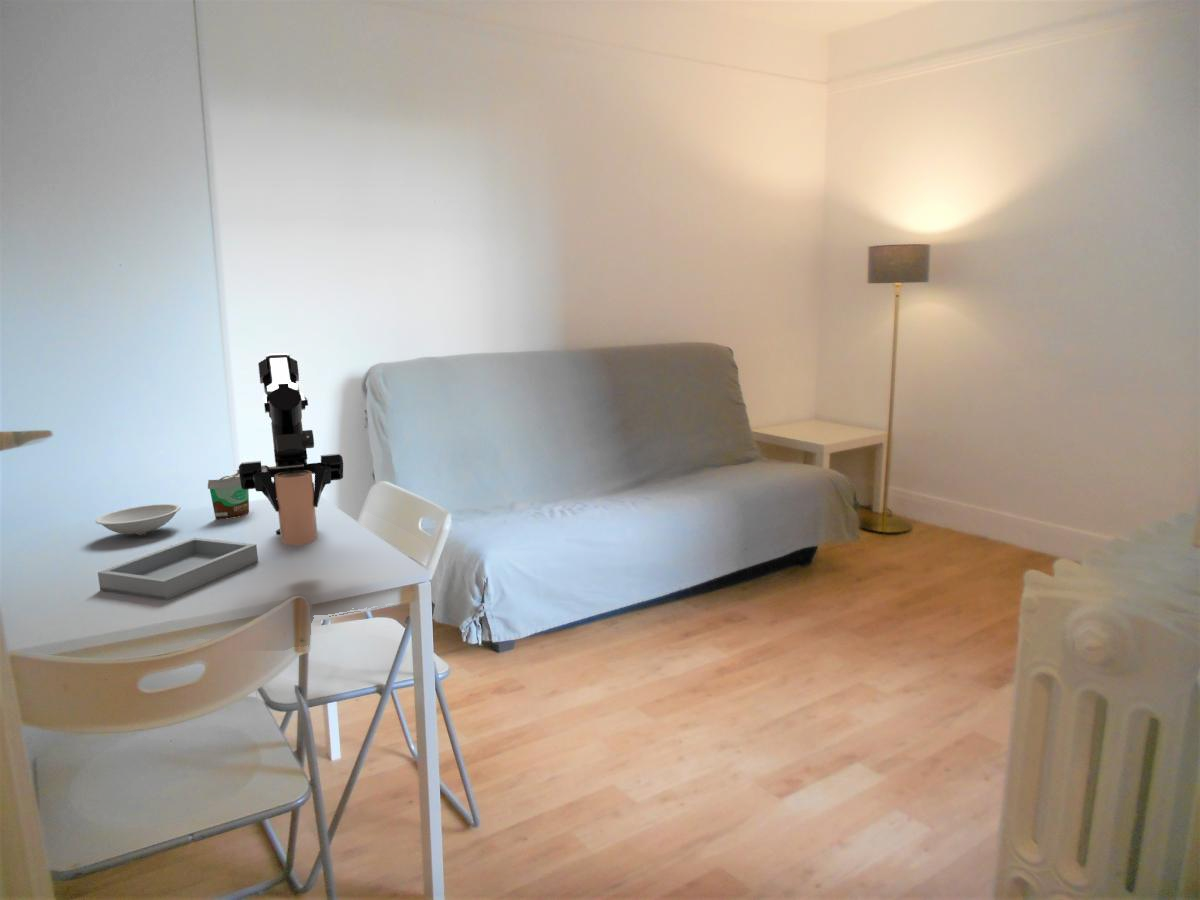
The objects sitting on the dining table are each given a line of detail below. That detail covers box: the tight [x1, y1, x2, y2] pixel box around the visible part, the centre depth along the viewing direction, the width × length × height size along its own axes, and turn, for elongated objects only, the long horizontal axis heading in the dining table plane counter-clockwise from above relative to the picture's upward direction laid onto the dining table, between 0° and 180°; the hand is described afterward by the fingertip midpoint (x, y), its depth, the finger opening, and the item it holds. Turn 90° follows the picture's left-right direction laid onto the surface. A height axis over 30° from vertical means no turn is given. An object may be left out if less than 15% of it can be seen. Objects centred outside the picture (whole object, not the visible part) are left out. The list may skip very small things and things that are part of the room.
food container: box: [207, 469, 250, 520], centre depth 205 cm, size 12×6×10 cm, turn 168°
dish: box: [95, 503, 182, 536], centre depth 191 cm, size 18×14×5 cm
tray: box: [97, 537, 259, 601], centre depth 162 cm, size 22×16×4 cm
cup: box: [275, 470, 319, 546], centre depth 159 cm, size 7×7×13 cm
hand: (296, 508), depth 157 cm, fingers closed on cup, 7 cm apart
